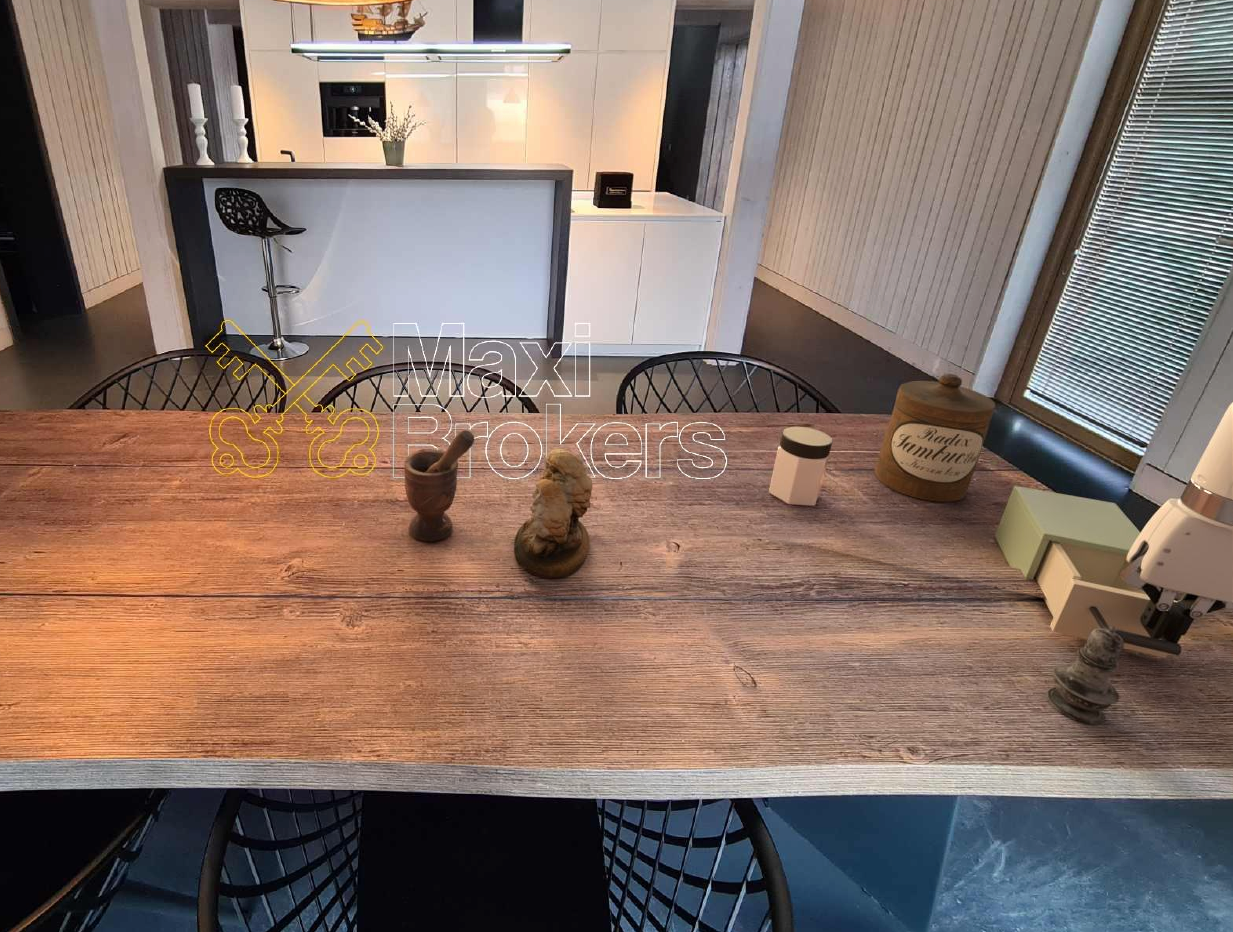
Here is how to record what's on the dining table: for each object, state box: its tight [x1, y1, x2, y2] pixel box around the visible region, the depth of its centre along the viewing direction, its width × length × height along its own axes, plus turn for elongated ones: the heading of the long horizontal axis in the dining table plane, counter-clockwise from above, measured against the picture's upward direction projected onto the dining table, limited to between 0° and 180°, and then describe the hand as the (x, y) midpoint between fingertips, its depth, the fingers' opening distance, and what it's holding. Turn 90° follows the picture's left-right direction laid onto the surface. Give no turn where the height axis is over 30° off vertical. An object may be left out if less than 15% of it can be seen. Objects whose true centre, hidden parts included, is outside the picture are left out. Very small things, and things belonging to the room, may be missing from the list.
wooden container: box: [874, 373, 996, 503], centre depth 123 cm, size 15×15×22 cm
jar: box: [768, 426, 833, 507], centre depth 120 cm, size 9×8×12 cm
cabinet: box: [994, 485, 1141, 581], centre depth 100 cm, size 15×13×10 cm
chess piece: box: [1045, 626, 1124, 726], centre depth 76 cm, size 6×6×12 cm
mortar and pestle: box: [403, 429, 475, 542], centre depth 107 cm, size 12×9×20 cm
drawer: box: [1034, 540, 1182, 659], centre depth 88 cm, size 19×12×8 cm, turn 156°
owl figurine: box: [513, 448, 593, 580], centre depth 104 cm, size 18×12×17 cm, turn 167°
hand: (1158, 633), depth 81 cm, fingers closed
